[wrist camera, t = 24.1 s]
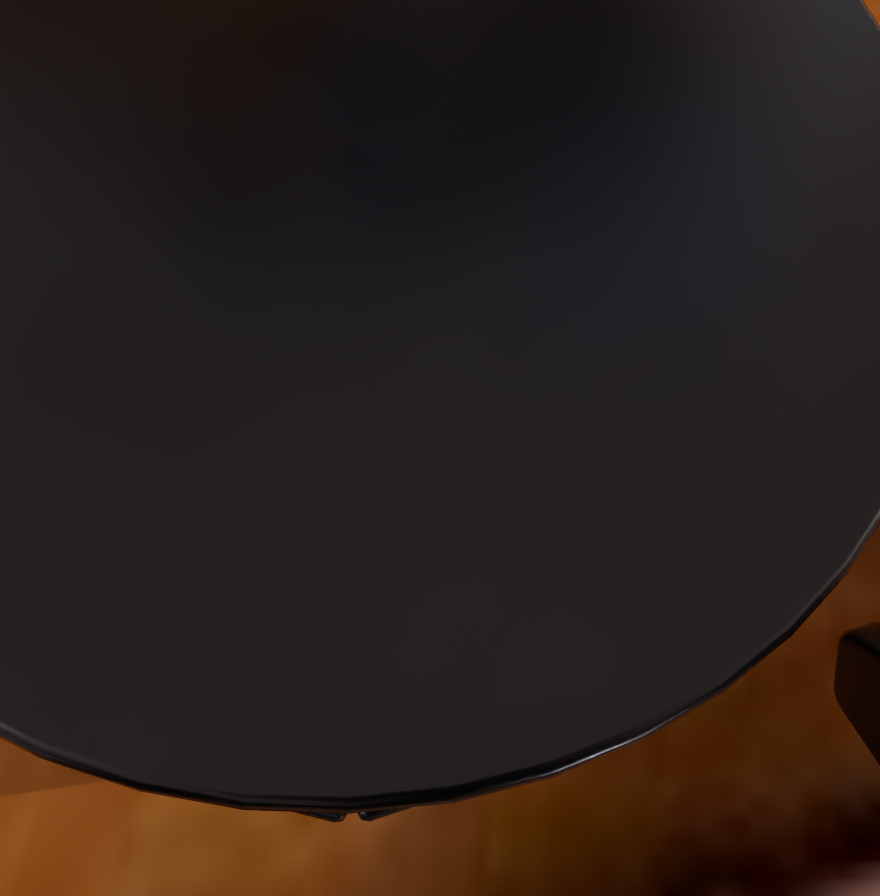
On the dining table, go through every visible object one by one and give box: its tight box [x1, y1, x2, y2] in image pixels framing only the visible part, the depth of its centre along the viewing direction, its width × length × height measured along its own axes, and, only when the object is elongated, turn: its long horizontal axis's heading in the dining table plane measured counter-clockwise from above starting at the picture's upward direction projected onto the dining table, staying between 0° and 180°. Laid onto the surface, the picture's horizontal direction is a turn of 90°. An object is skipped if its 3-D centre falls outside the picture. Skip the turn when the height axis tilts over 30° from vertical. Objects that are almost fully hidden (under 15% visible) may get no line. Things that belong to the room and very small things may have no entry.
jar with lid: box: [0, 0, 880, 822], centre depth 11 cm, size 7×7×14 cm
